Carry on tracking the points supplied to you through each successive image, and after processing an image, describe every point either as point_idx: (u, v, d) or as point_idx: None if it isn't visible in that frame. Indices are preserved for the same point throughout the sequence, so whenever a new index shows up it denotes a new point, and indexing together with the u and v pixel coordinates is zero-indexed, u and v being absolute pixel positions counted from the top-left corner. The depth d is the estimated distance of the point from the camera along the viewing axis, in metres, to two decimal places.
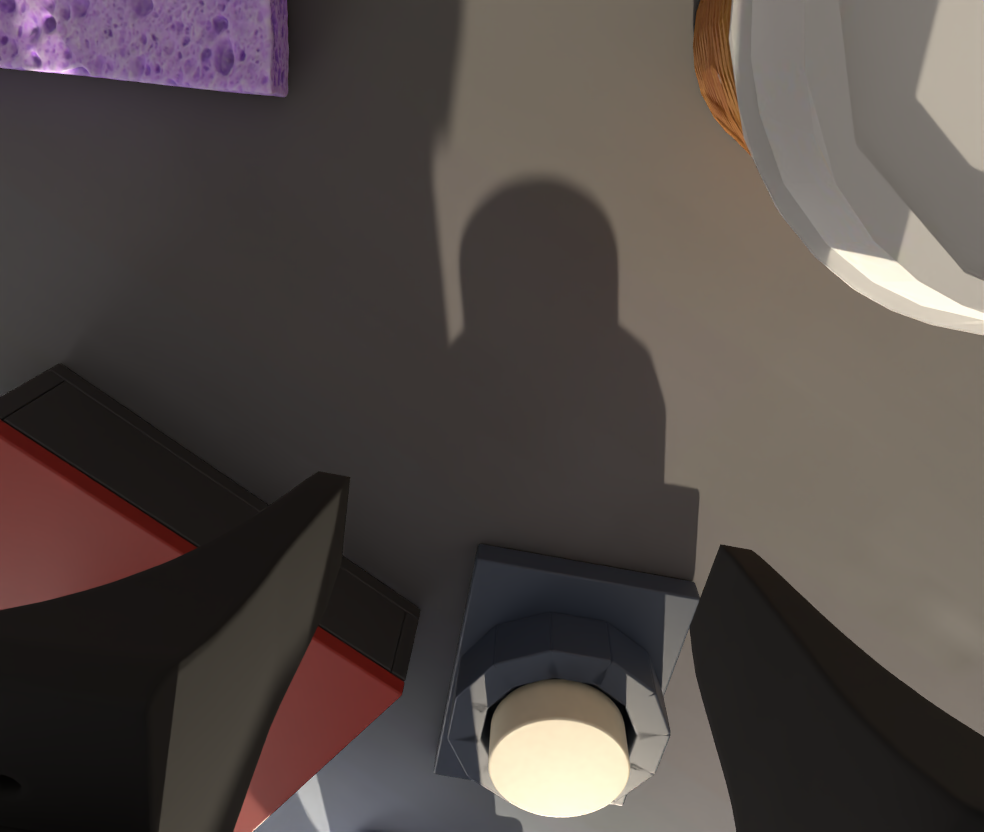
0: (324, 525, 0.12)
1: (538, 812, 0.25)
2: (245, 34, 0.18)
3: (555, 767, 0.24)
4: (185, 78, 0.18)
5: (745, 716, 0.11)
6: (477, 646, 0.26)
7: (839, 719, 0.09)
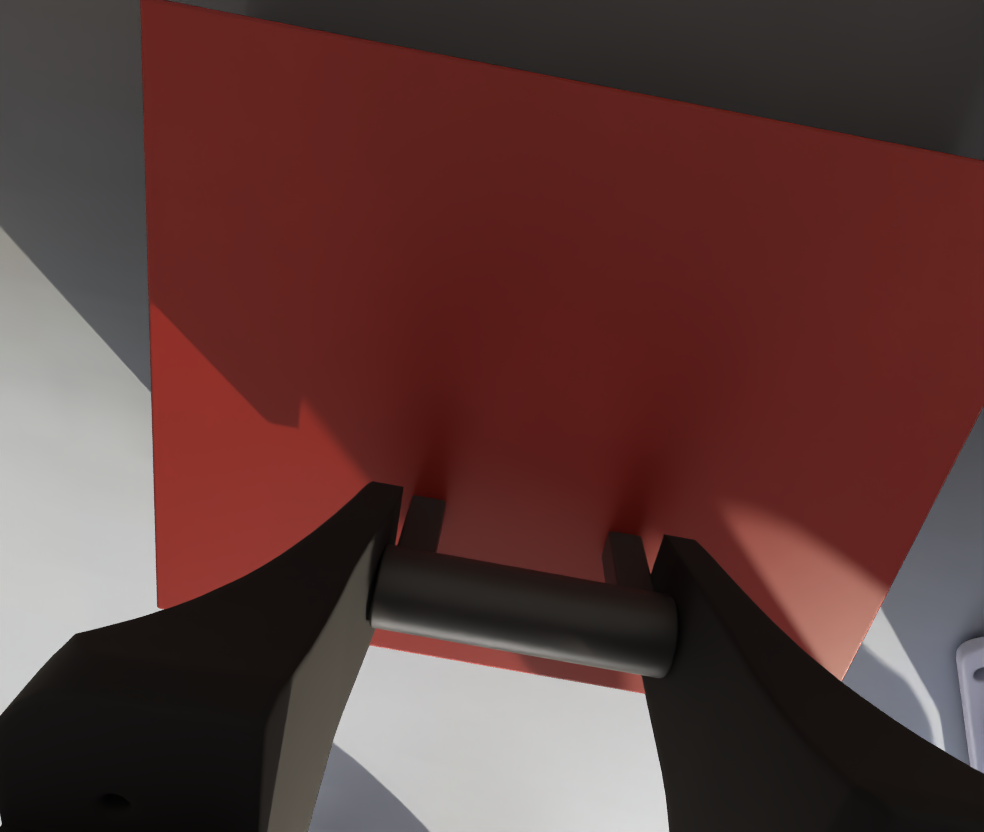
0: (384, 536, 0.12)
1: None
2: None
3: None
4: None
5: (679, 704, 0.11)
6: None
7: (753, 705, 0.09)
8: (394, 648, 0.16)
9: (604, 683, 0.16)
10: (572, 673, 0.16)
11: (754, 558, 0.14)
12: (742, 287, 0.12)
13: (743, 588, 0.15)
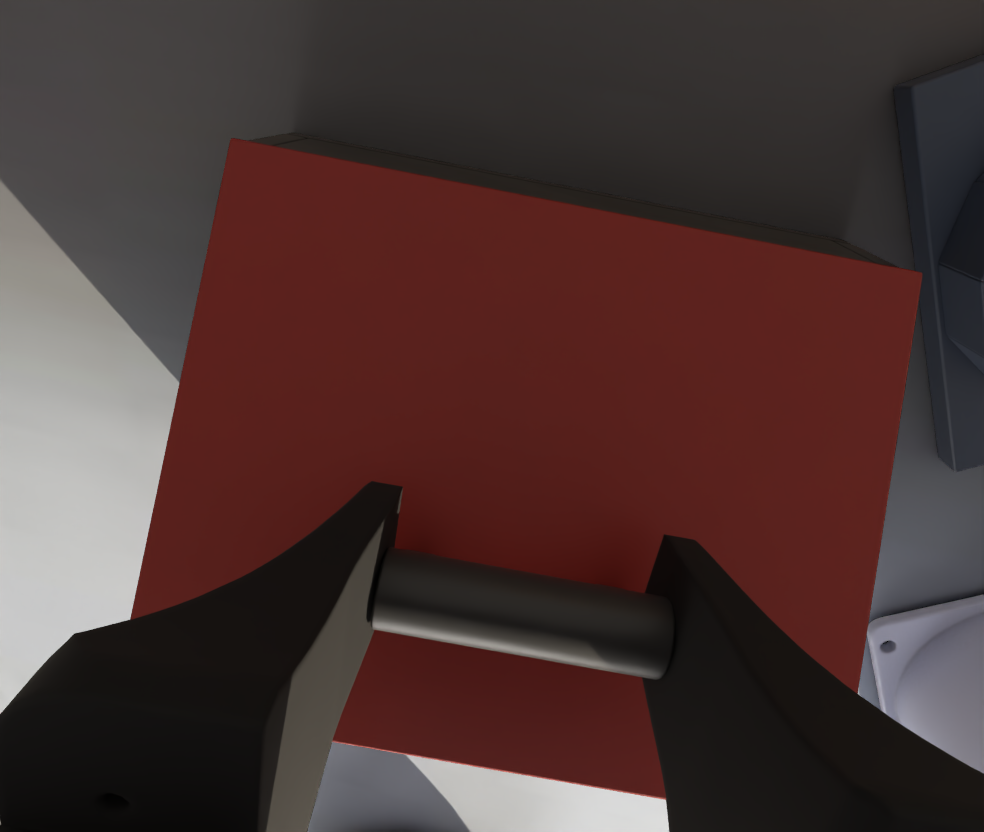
0: (383, 536, 0.12)
1: None
2: None
3: None
4: None
5: (679, 704, 0.11)
6: (961, 225, 0.18)
7: (754, 704, 0.09)
8: (372, 746, 0.15)
9: (601, 783, 0.15)
10: (566, 772, 0.15)
11: None
12: (683, 348, 0.15)
13: None
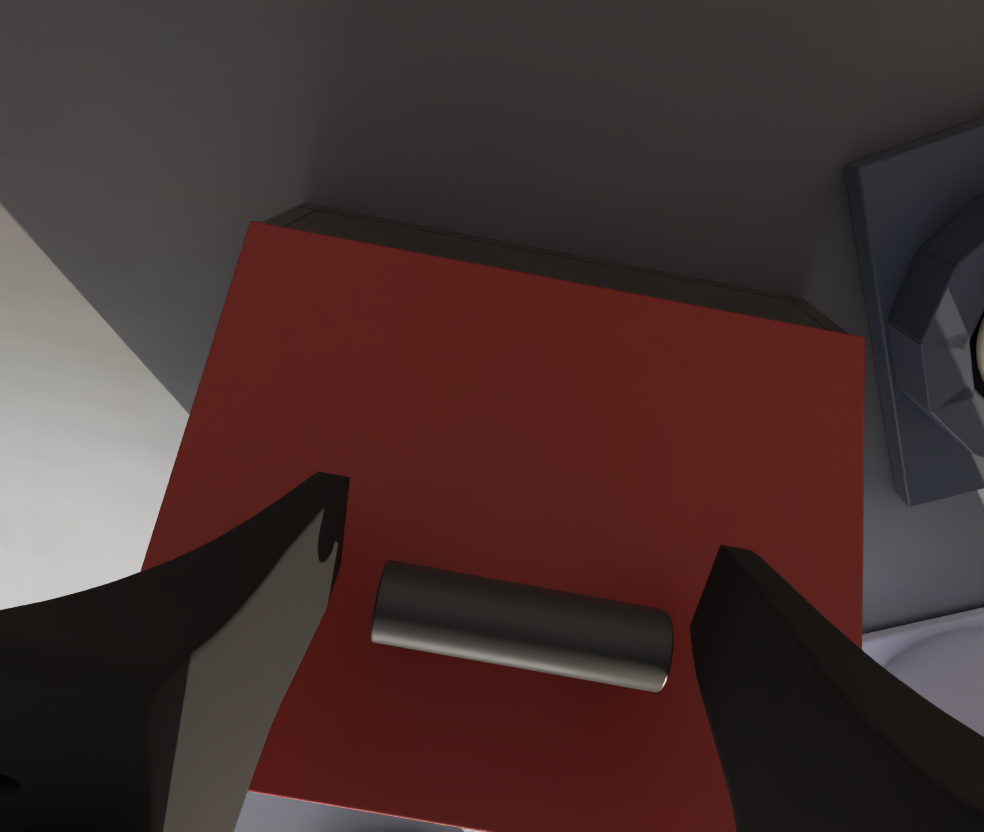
0: (324, 525, 0.12)
1: None
2: None
3: None
4: None
5: (745, 716, 0.11)
6: (906, 289, 0.20)
7: (838, 720, 0.09)
8: (360, 807, 0.14)
9: None
10: None
11: None
12: (659, 400, 0.17)
13: None
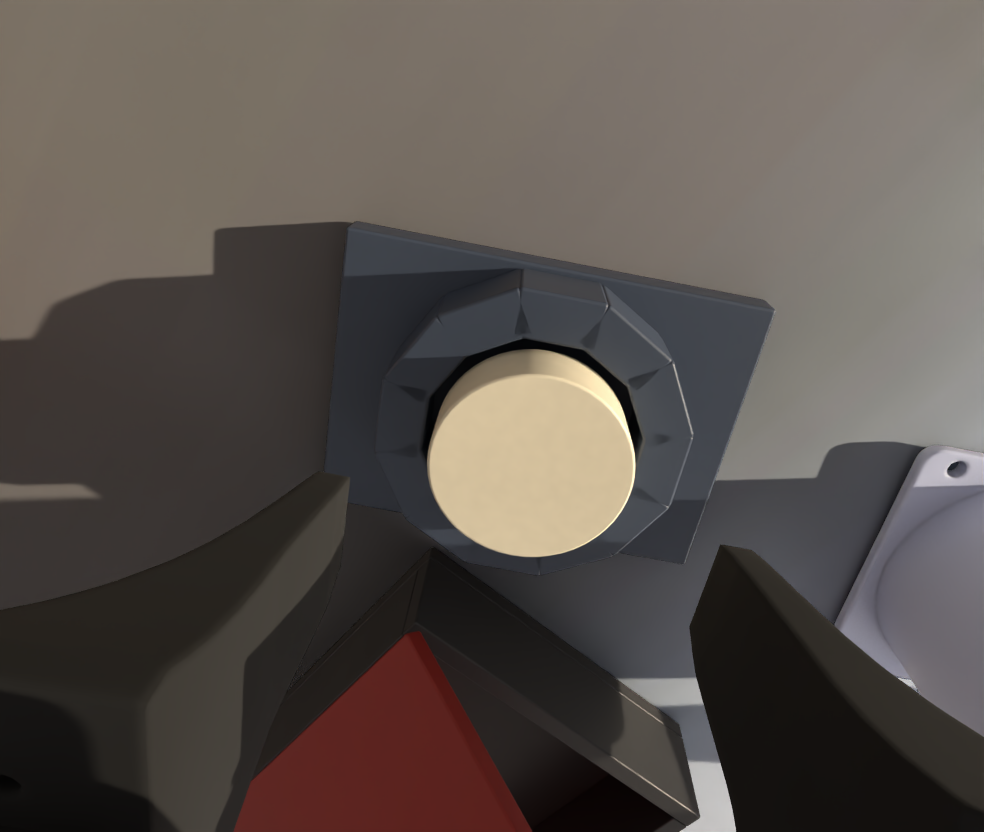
0: (324, 525, 0.12)
1: (622, 498, 0.17)
2: None
3: (524, 476, 0.16)
4: None
5: (745, 716, 0.11)
6: None
7: (838, 720, 0.09)
8: None
9: None
10: None
11: None
12: (342, 819, 0.19)
13: None
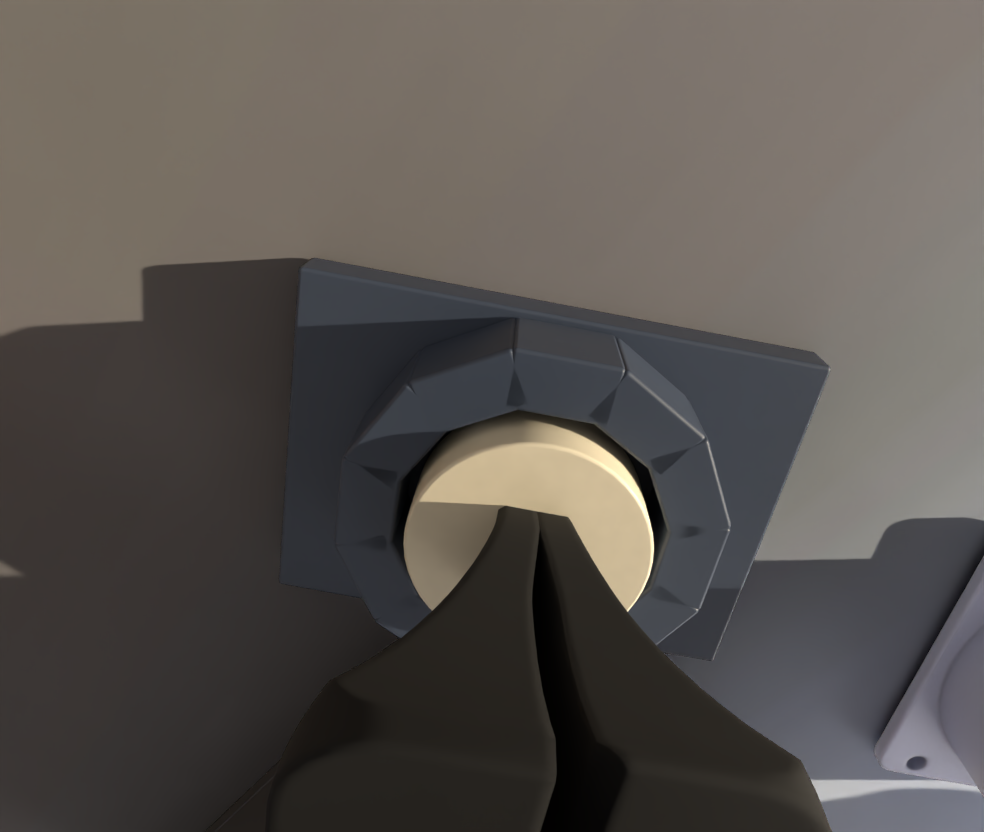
0: None
1: (637, 586, 0.14)
2: None
3: None
4: None
5: None
6: None
7: (562, 671, 0.09)
8: None
9: None
10: None
11: None
12: None
13: None
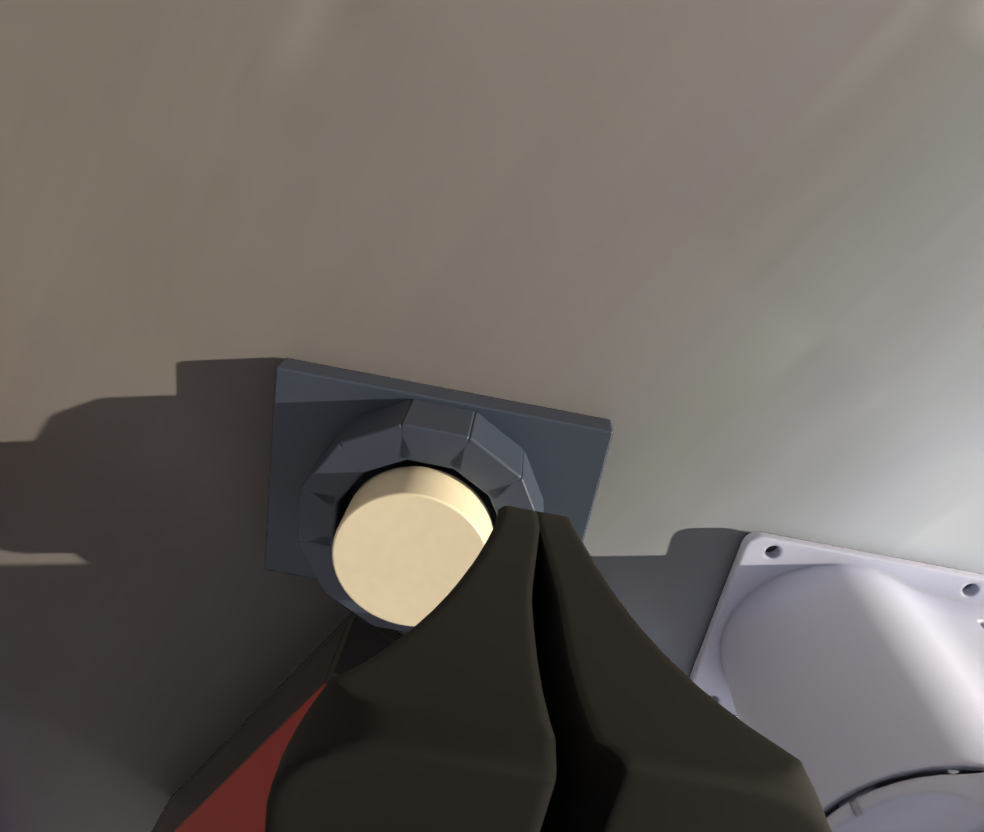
0: None
1: None
2: None
3: (406, 566, 0.21)
4: None
5: None
6: None
7: (562, 671, 0.09)
8: None
9: None
10: None
11: None
12: None
13: None
